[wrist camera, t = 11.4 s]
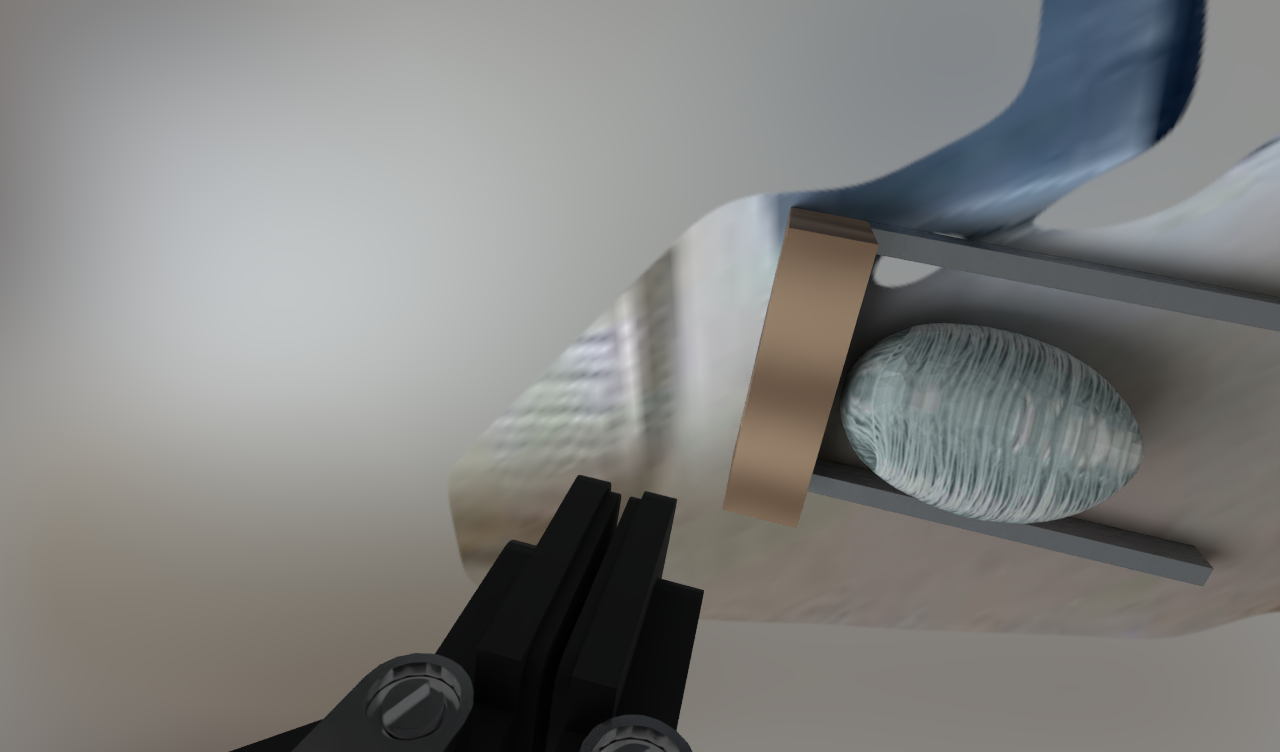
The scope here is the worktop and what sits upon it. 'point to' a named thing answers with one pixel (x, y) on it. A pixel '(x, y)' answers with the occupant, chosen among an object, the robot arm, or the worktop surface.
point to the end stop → (799, 362)
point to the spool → (989, 423)
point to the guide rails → (1075, 278)
